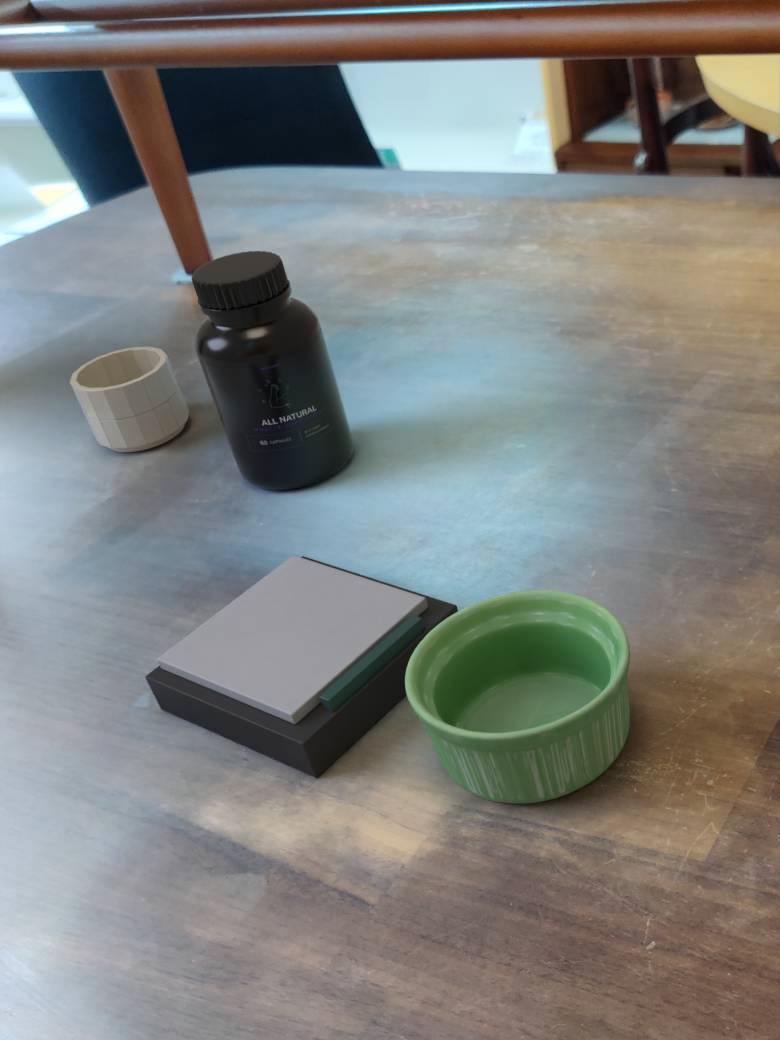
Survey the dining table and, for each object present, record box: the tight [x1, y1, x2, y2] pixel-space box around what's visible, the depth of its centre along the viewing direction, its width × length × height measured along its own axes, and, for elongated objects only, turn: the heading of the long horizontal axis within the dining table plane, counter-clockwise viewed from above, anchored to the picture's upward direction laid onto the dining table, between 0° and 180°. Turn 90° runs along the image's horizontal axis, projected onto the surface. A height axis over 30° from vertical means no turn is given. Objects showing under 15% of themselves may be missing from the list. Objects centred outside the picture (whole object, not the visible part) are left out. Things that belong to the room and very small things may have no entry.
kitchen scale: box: [144, 555, 459, 778], centre depth 54 cm, size 10×10×3 cm
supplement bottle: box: [191, 250, 354, 491], centre depth 67 cm, size 7×7×12 cm
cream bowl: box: [69, 346, 190, 453], centre depth 75 cm, size 6×6×4 cm
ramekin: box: [405, 589, 631, 805], centre depth 49 cm, size 9×9×4 cm
